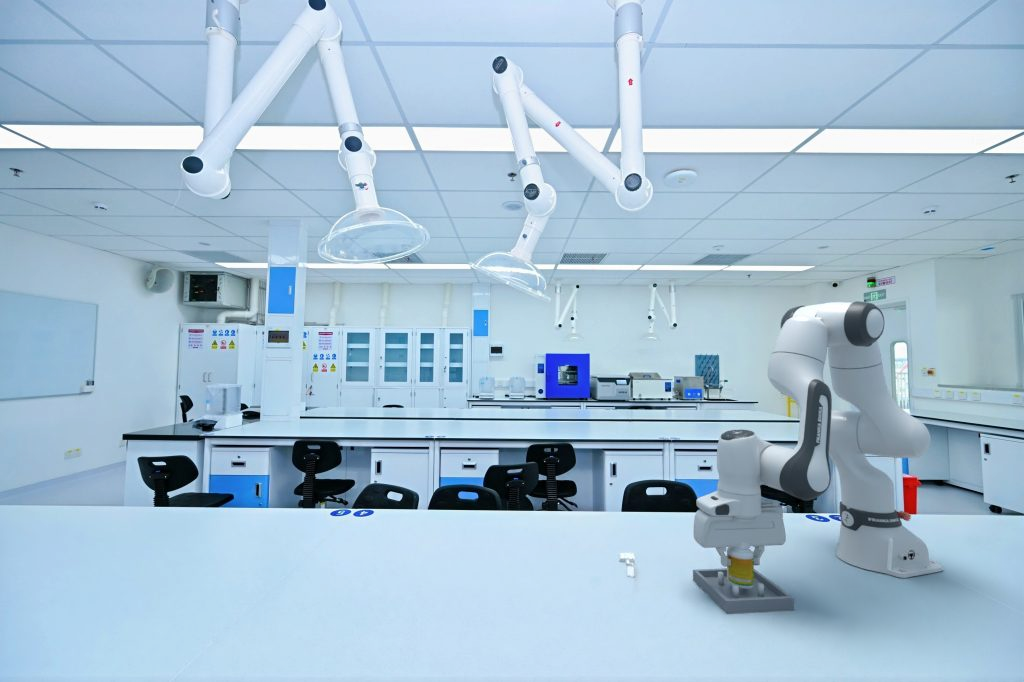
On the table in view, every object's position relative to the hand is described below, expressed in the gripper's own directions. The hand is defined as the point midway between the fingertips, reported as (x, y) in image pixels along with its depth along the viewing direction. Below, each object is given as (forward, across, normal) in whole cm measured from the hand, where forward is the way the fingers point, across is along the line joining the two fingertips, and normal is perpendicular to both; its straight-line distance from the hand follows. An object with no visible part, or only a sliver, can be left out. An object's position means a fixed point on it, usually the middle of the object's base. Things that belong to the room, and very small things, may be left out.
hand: (740, 564), depth 100 cm
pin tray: (+6, 0, 0) cm, 7 cm away
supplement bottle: (+4, 0, 0) cm, 4 cm away
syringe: (+7, +21, -12) cm, 25 cm away
